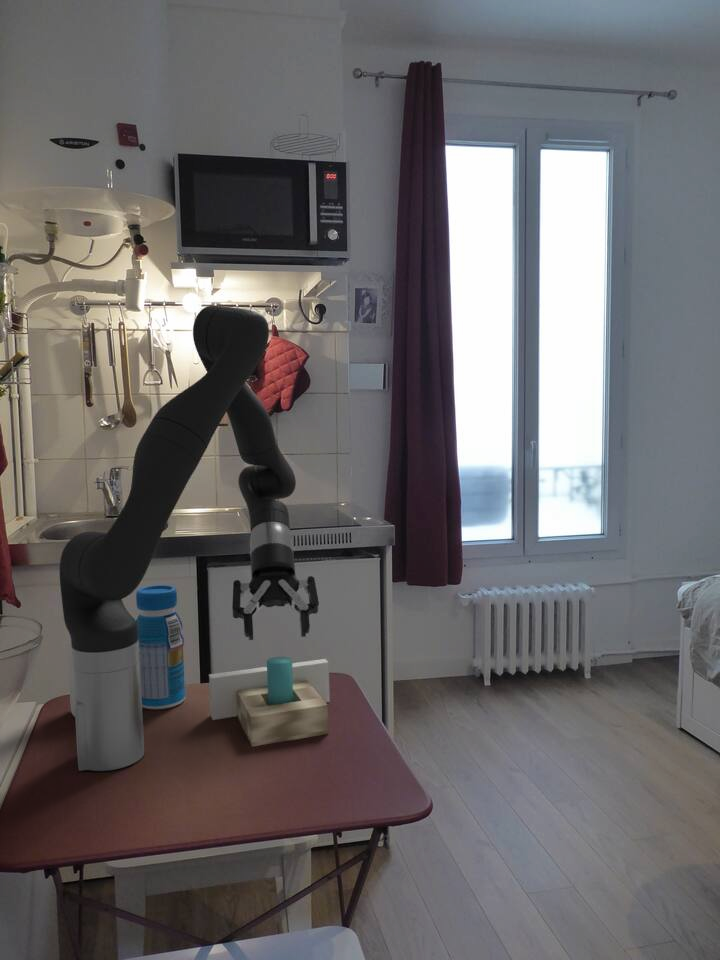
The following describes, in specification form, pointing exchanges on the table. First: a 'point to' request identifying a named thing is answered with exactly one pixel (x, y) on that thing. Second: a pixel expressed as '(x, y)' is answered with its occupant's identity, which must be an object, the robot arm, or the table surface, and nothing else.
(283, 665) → the teal rounded cylinder
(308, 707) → the socket block
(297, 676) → the backstop wall
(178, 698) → the beverage bottle
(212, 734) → the table surface
